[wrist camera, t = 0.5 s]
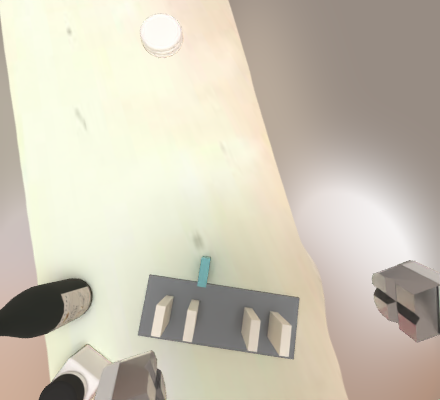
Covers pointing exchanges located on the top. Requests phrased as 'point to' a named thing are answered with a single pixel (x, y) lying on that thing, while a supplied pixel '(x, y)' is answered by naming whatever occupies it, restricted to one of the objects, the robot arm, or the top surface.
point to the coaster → (161, 35)
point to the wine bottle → (44, 308)
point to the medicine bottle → (77, 377)
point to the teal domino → (203, 271)
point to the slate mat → (217, 314)
